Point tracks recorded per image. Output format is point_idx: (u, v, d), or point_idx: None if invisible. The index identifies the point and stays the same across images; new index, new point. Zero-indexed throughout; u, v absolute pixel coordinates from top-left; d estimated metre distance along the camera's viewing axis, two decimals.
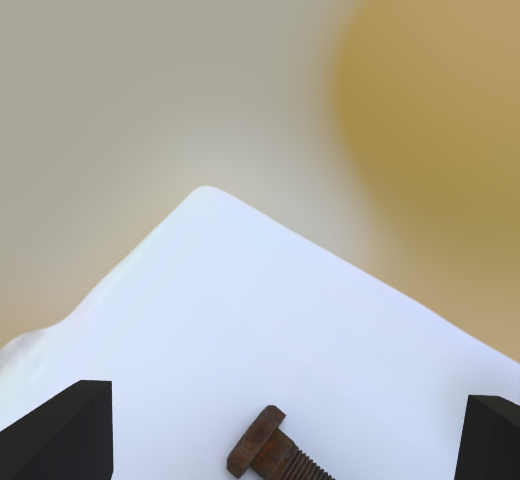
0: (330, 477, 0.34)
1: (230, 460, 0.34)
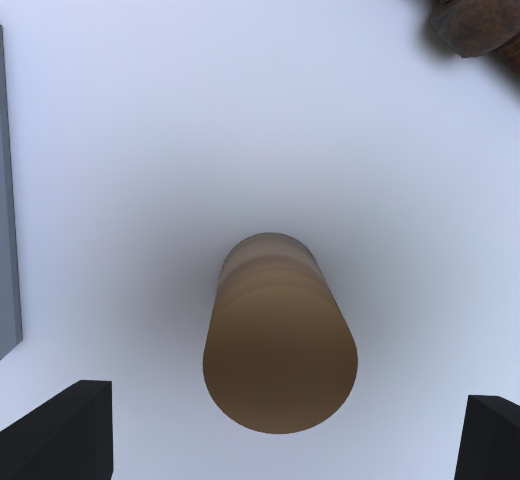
0: None
1: None
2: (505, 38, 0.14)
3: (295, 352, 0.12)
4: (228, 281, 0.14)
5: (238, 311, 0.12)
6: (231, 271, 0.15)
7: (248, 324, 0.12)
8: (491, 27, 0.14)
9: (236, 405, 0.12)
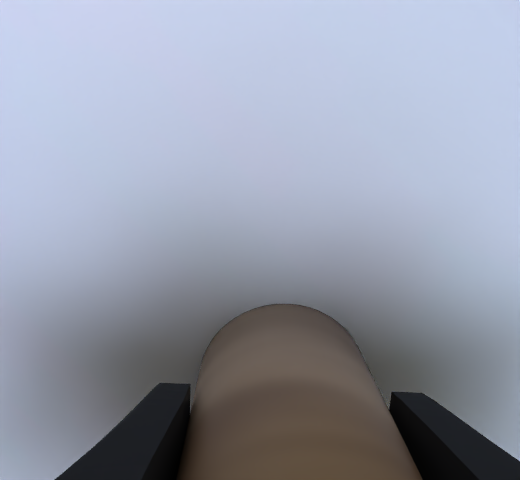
0: None
1: None
2: None
3: None
4: (202, 449, 0.07)
5: None
6: (211, 409, 0.08)
7: None
8: None
9: None
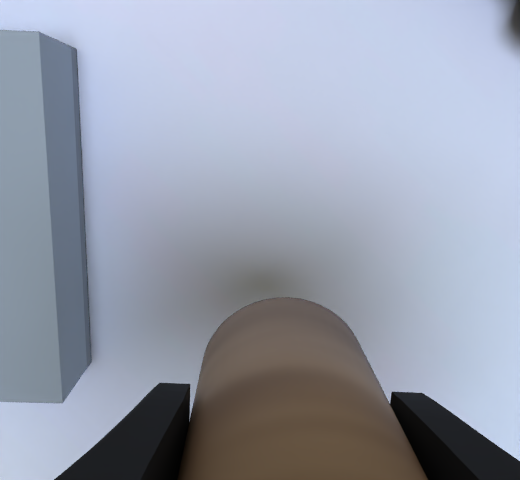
0: None
1: None
2: None
3: None
4: (205, 434, 0.07)
5: None
6: (213, 398, 0.08)
7: None
8: None
9: None
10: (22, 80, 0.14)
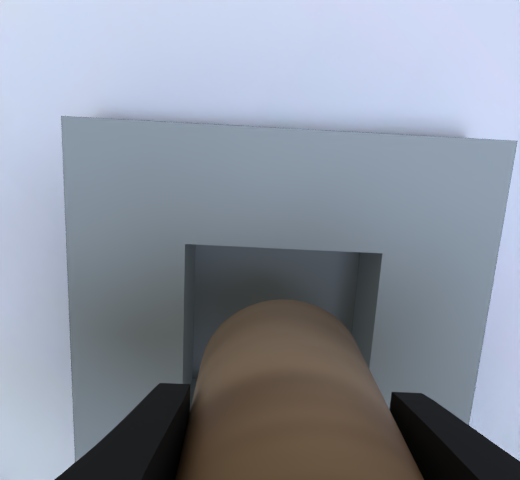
0: None
1: None
2: None
3: None
4: (197, 443, 0.07)
5: None
6: (206, 405, 0.08)
7: None
8: None
9: None
10: (488, 191, 0.13)
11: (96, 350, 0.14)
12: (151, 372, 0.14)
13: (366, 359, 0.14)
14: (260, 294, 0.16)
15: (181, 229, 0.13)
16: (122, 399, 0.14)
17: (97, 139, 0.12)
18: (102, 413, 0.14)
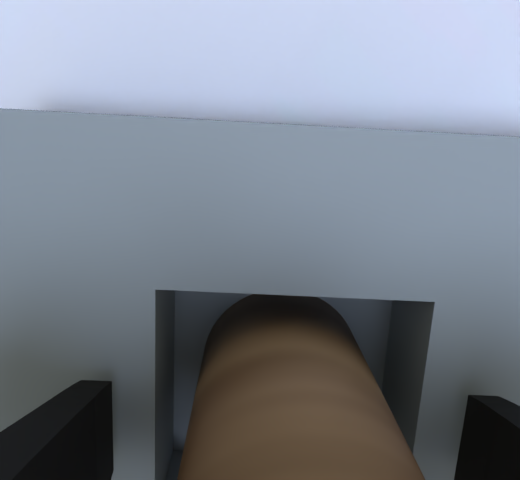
0: None
1: None
2: None
3: None
4: (204, 414, 0.08)
5: None
6: (211, 382, 0.09)
7: None
8: None
9: None
10: None
11: None
12: None
13: (407, 441, 0.10)
14: None
15: (149, 269, 0.09)
16: None
17: (25, 141, 0.08)
18: None
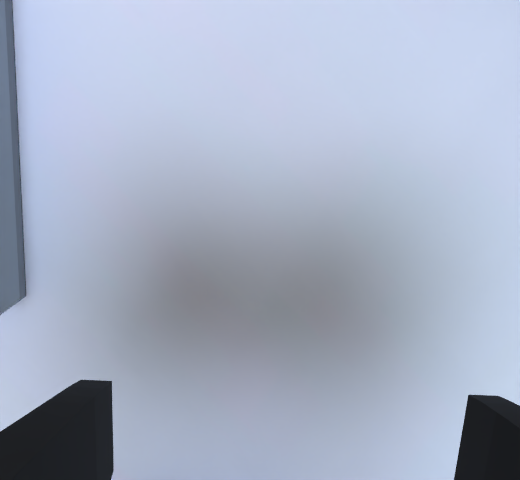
0: None
1: None
2: None
3: None
4: None
5: None
6: None
7: None
8: None
9: None
10: None
11: None
12: None
13: None
14: None
15: None
16: None
17: None
18: None
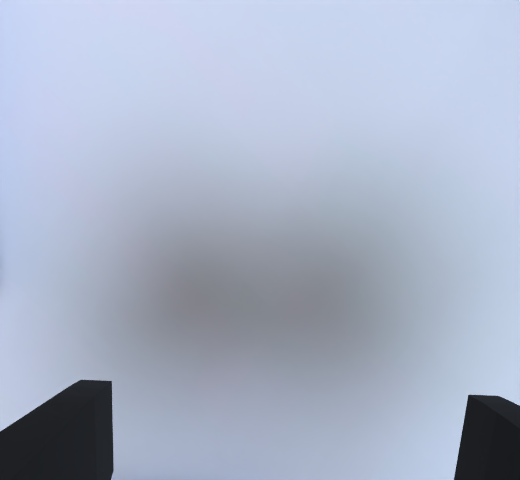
0: None
1: None
2: None
3: None
4: None
5: None
6: None
7: None
8: None
9: None
10: None
11: None
12: None
13: None
14: None
15: None
16: None
17: None
18: None
